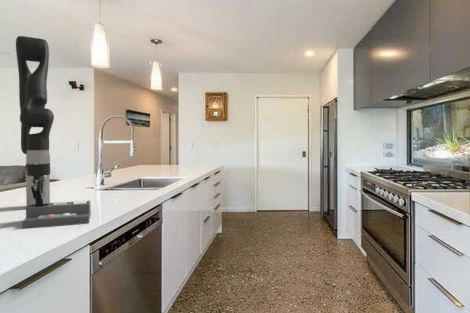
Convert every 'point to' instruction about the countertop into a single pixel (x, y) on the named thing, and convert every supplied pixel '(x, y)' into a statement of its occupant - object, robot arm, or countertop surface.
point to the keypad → (56, 214)
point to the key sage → (60, 204)
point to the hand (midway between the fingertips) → (39, 208)
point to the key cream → (80, 202)
